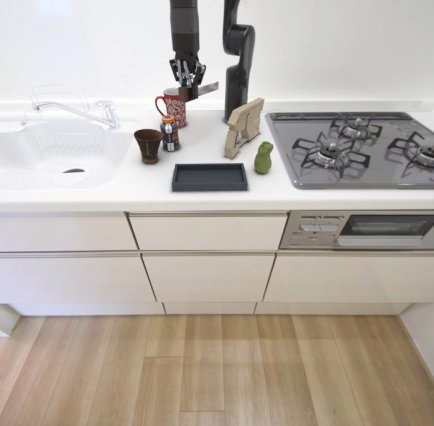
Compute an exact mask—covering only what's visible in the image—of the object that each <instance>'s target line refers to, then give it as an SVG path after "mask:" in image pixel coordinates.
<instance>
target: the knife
mask: <svg viewBox="0 0 434 426" xmlns="http://www.w3.org/2000/svg"><path fill="white" fill-rule="evenodd" d="M219 85H220V84H219V81H215V82H212V83H209V84H205V85H203V86H199V85H198V86H196V99H195V100H198V99H199V97H201V96H204V95H206V94H210V93H212V92H215V91H218V90H219V87H220V86H219ZM177 88H178V92H179V101H180V102H183V103H186V104H187V103H189V102H192V101H191V100H189V85H184V86H181V85H180V86H178V87H177Z"/></svg>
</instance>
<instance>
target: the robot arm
mask: <svg viewBox="0 0 434 426" xmlns="http://www.w3.org/2000/svg"><path fill="white" fill-rule="evenodd" d="M198 2H199V1H198V0H169V25H170V33H171V34H170V35H171V47H172V51H173V52H174V53H175V54H174V58H171V59H169V61H168V62H169V63H168V64H169V66H170V68H171V71H172V75H173V78H174V80H175V82H178V83H179V85H180V87H181V86H184V85H189V100H191V101H190V102H192V101H195V100H197V99H196V86H198V87H199V86H201V85H202V83H203V79H204V76H205V73H206V71H207V70H206V69H207V65H206V64H202V63H201V62H200V59H199V51H200V44H201V43H200V16H199V3H198ZM240 3H241V0H223V15H222V33H221V34H222V37H221V39H222V50H223V53H224V54H225V55H228V56H234V57H239V58H238V62H237V63H236V64H233V65H230V66H228V67H226V70H225V88H224V110H223V111H224V112H223V122H224V123H226V124H227V123H228V121H229V118H230V116H231V114H232V111H233V110H235V109H237V108H239V107H241V106H242V105H244V104H245V105H246V104H247V103H248V100H249V96H248V95H249V87H250V77H251V70H252V65H253V59H254V52H255V46H256V45H255V44H256V36H257V35H256V29H255V27H254V26H253V25H252V24H243V23H238V11H239V7H240Z"/></svg>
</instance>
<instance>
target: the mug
mask: <svg viewBox="0 0 434 426" xmlns="http://www.w3.org/2000/svg"><path fill="white" fill-rule="evenodd" d="M162 93H163V95H157V96H156V97H155V99H154V106H155V108H156V110H157V111H158V113H159V114H160V116H162V117H163V116H166V115H171V116H173V117H174V122H176V123H177V127H178V129H180V128H181V129H182V128H184V127H186V125H187V105H186V104H187V103H183V102H180V101H179V92H178V87H176V86H175V87H167V88H165V89H163V90H162ZM158 100H162V101H163V103H164V105H165V110H166V115H165V113H163V112H162V110H161V109H160V108H159V106H158Z"/></svg>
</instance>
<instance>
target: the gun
mask: <svg viewBox="0 0 434 426" xmlns="http://www.w3.org/2000/svg"><path fill="white" fill-rule="evenodd" d="M264 104H265V98H262V97H257V98H255V99H253V100H251V101H249V102H247V104H246V105H245V104H244V105H242V106H241V107H239V108H237V109H235V110H233V111H232V114H231V116H230V118H229V121H228V123H226V125H227V126H228V130H227V133H226V137H225V142H224V148H223V149H224V156H225V157H226V158H228V159H233V158H234V157H235V156H236V155H237V153H238V152H239V150H240V147H242V145H244V144H245V143H246V142H250V141H251V140H253V139H254V137H256V136H257V135H258V134H259V133H260V124H261V112H262V111H263V110H264ZM239 133H240V136H241V138H240V139H239V140H238V137H239Z"/></svg>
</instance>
